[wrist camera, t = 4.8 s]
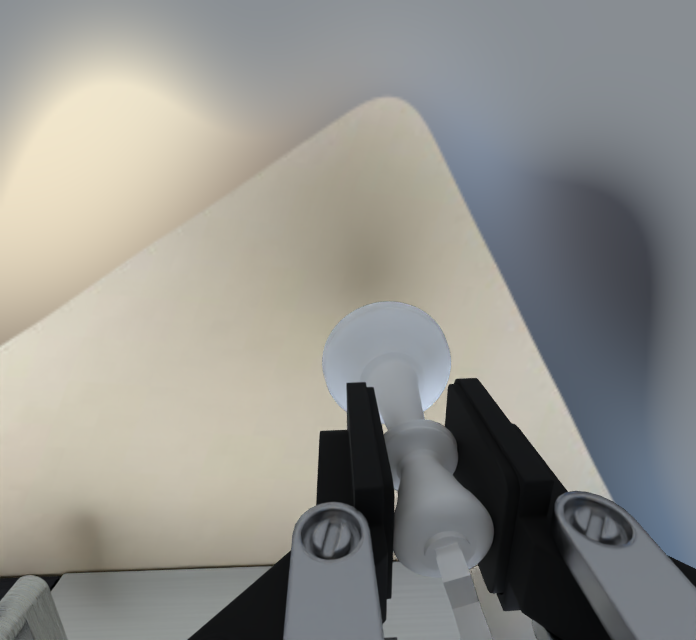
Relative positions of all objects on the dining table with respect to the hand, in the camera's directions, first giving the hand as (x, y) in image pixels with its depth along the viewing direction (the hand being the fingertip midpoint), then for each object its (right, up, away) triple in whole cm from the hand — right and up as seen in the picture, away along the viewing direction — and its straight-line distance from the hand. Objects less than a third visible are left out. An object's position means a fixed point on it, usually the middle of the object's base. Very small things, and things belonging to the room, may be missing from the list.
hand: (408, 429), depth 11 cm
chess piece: (0, +1, +5) cm, 5 cm away
